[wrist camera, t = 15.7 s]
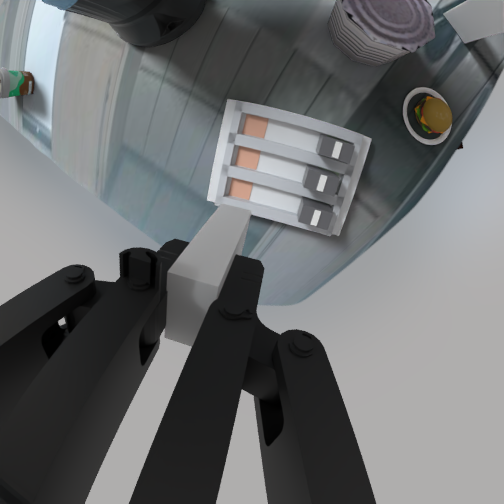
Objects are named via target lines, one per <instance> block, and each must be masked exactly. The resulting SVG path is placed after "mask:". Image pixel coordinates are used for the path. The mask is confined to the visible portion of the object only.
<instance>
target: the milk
mask: <svg viewBox="0 0 504 504" xmlns="http://www.w3.org/2000/svg"><path fill="white" fill-rule="evenodd" d="M443 15H444V16H445V18H446V19H447V20H448V21H449V23H450V24H451V25H452V27H453V28H454V29H455V31H456V32H457V34H458V35H459V36H460V38H461V39H462V41H463V42H464V44H465V43H468V42H472V41H475V40H478V39H482V38H485V37H489V36H492V35H496V34H500V33H504V0H467V1H465V2H464V3H462V4H460V5H458V6H456V7H454V8H453V9H451V10H449V11H447V12H446V13H444V14H443Z"/></svg>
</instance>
